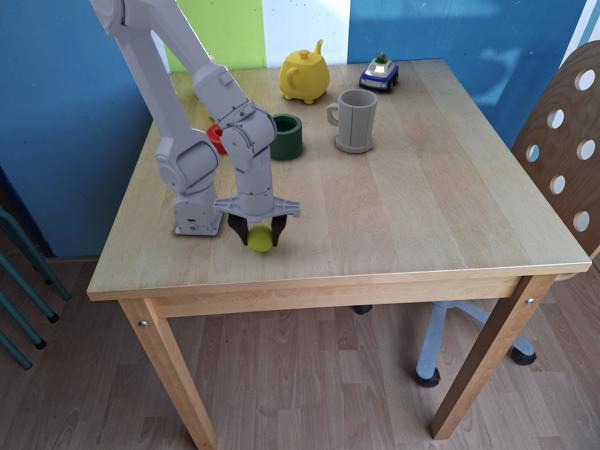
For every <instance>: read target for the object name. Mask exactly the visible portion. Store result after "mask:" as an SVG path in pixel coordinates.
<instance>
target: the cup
mask: <svg viewBox="0 0 600 450" xmlns="http://www.w3.org/2000/svg"><path fill="white" fill-rule="evenodd" d="M378 102H379V98H378V96H377V94H375V93H374V92H372V91H370V90H368V89H363V88H351V89H346V90H344V91H341V93H339V95H338V97H337V103H330V104H329V105H328V106H327V107H326V121H327V123H328V124H329V125H330V126H333V127H337V135H336V137H335V144H336V146H337V148H338V149H340V150H341V151H343V152H345V153H349V154H361V153H365V152H367V151H369V150H370V149H371V148H372V147H373V143H374V139H373V128H374V121H375V116H376V112H377V107H378ZM333 112H337V113H338V117H337V118H338V119H336V117H335V116H334V114H333Z"/></svg>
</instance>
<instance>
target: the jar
mask: <svg viewBox="0 0 600 450" xmlns="http://www.w3.org/2000/svg"><path fill="white" fill-rule="evenodd" d="M271 116H272V118H273V120H274V122H275V124H276V128H277V135H276V138H275V139H274V140H273V141H272V142H271V143H270V144H269V146H270V157H271V160H275V161H280V162H281V161H282V162H283V161H284V162H285V161H290V160H294V159H296V158H298V157H299V156H300V155H301V154H302V152H303V121H302V119H301V118H300V117H298V116H296V115H294V114H290V113H276V114H271Z"/></svg>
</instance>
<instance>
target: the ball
mask: <svg viewBox="0 0 600 450" xmlns="http://www.w3.org/2000/svg"><path fill="white" fill-rule="evenodd" d="M247 242H248V246H249V247H250V249H252V250H253V251H254V252H257V253H264V252H267V251H269V250H270V249H272V247H273V233H272V229H271V226H268V225H266V224H262V223H258V224H255V225H253V226H252V227H250V228H249V232H248V234H247Z"/></svg>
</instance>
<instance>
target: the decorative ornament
mask: <svg viewBox="0 0 600 450" xmlns="http://www.w3.org/2000/svg"><path fill="white" fill-rule="evenodd" d="M205 132H206V134H207V136H208V138H209V140H210V142H211V143H212V144H213V145H214V147H215V148H216V149H217V151H218V154H228V153H227V151H226V150H225V148H224V147H223V145H222V143H221V140H220V136H221V137H222V133H223V131H222V130H221V129H220V127H219V126H218V124H217V123H216V122H215V123H214V124H212V125H210V126H209V127H208V128H207V129H206V131H205Z"/></svg>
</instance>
